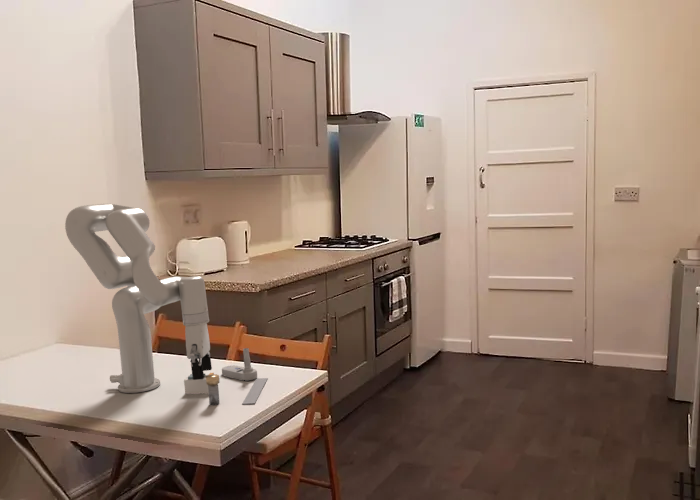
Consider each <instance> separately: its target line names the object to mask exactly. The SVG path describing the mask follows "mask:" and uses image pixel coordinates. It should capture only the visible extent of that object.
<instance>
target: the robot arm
mask: <svg viewBox="0 0 700 500" xmlns="http://www.w3.org/2000/svg"><path fill="white" fill-rule="evenodd" d="M64 225H65V226H64V227H65V228H64V229H65V233H66V237H67V239H68V241H69V243H70V244H71V245H72V247H73V248H74V250H76V251H77V253H78V254H79V255H80V256H81V258H83V260H84V262H86V264H87V267H89V269H90V271H91V272H92V273H93V274H94V276H95V277H96V279H97V280H98V281H99V284H101V285H102V286H103V287H104V288H105V289H107V290H115V289H120V288H121V289H120V290H117V292H115V294H114V295H113V297H112V300H111V308H112V312H113V315H114V319H115V322H116V328H117V336H118V345H119V346H118V347H119V355H120V356H119V357H120V366H121V373H120V374H118V375H117V374H111V375H109V381H110V383H112V384H113V383H114V384H115V383H116V384H117V383H118V386H117V390H118V391H119V392H121V393H125V394H136V393H137V394H138V393H142V392H148V391H152V390H154V389H156V388H158V387H159V386H160V385H161V380H160V379H159V378H157V377H155V367H154V359H153V345H152V336H151V335H152V333H151V329H150V328H151V327H150V324H149V322H148V320H147V318H146V316H145V315H146V314H150V313H152V312H155V311H157V310H158V309H160V308H161V307H163V306H166V305H169V304H172V303H176V302H179V301H180V306H181V315H182V324H183V326H185V328H184V329H185V330H184V332H185V333H184V334H185V348H186V349H185V350H186V358H187V359H189V360H190V367H191V374H192V377H193V380H199V379H203V378H204V374H205V373H204V372H205V371H206V372H207V371H212V369H213V367H212V359H211V353H210V351H211V343H210V335H209V330H208V323H209V322H210V317H209V309H208V299H207V293H206V284H205V279H204V277H202V276H199V275H197V276H196V275H195V276H177V275H176V276H175V275H174V276H170V277H166V278H161V279H159V277H158V276H157V275H156V274H155V272H154V271H153V269H152V267H151V265H150V257H151V256H152V255H153V254H154V252H155V251H156V245H155V243H154V242H153V241H152V239H151V237H149V236H148V233H147V231H148V230H149V228H150V218H149V215H147V213H146V212H145V211H144V210H142V209H141V208H138V207H134V206H126V205H121V204H115V203H97V204H86V205H80V206H78V207H75V208H73V209H72V210H71V211H69V212H68V214H67V215H66V218H65V224H64ZM105 231H108V233H109V234H110V235H111V237H112V238H113V239H114V241H115V242H116V244H117V245H118V246H119V247H120V249H121V250H122V251H123V253H124V254H125V255H123V256H122V255H121V256H119V255H117V254H116V253H115V252H114V250H112V248H111V246H110V245H109V244H108V242H107V241H106V240H104V238H102V237H100V236H99V235H97V234H96V233H97V232H105Z"/></svg>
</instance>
